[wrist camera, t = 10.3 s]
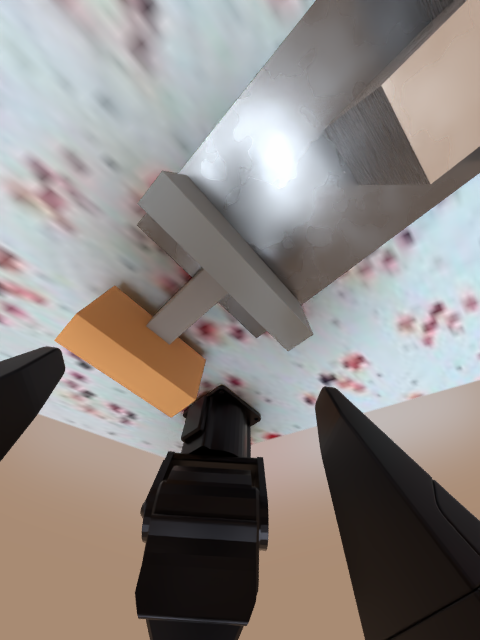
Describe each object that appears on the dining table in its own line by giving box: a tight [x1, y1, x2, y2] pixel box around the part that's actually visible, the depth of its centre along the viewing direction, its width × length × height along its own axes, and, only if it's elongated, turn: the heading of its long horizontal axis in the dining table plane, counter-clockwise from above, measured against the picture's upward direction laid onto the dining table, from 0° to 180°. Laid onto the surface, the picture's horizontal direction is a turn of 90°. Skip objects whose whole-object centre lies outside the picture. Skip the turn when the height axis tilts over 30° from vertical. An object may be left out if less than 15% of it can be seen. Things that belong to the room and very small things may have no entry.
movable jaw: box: [54, 171, 313, 417], centre depth 18 cm, size 12×13×5 cm
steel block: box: [325, 0, 480, 185], centre depth 11 cm, size 4×6×7 cm, turn 133°
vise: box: [137, 0, 480, 338], centre depth 13 cm, size 13×24×6 cm, turn 133°
